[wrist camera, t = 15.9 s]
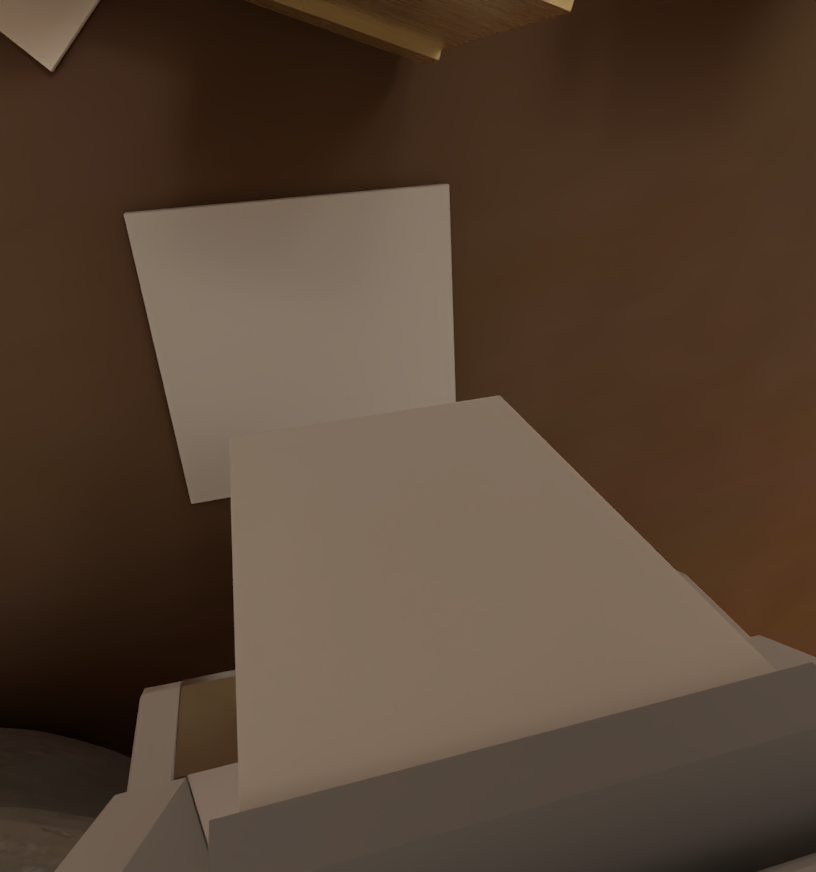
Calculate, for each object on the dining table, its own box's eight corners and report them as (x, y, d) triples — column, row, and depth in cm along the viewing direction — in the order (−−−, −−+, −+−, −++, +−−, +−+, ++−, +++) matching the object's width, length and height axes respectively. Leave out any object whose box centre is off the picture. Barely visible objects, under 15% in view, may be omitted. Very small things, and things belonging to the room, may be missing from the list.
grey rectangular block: (215, 429, 12) (206, 899, 5) (509, 383, 13) (867, 712, 6) (263, 664, 14) (306, 1211, 7) (508, 609, 15) (759, 1039, 8)
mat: (125, 212, 20) (123, 214, 20) (445, 183, 22) (449, 184, 22) (191, 498, 25) (191, 504, 24) (454, 453, 27) (457, 457, 26)
